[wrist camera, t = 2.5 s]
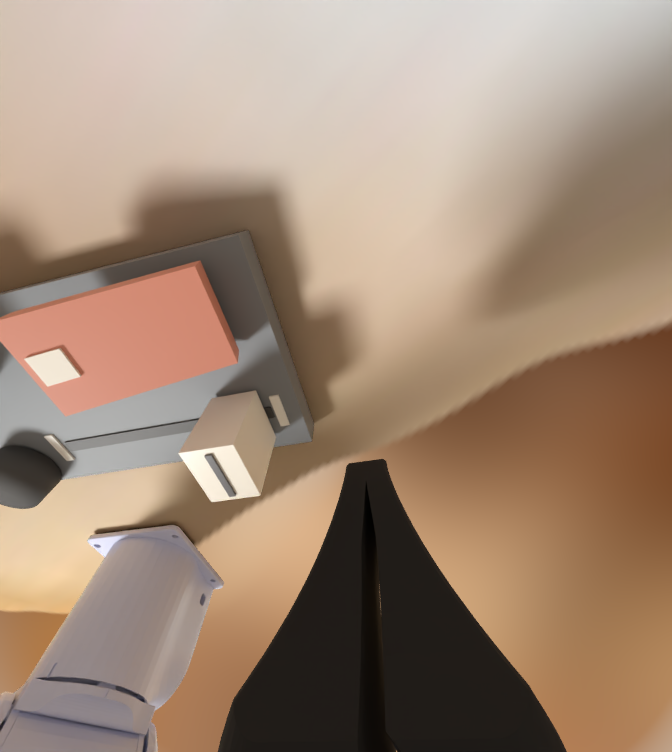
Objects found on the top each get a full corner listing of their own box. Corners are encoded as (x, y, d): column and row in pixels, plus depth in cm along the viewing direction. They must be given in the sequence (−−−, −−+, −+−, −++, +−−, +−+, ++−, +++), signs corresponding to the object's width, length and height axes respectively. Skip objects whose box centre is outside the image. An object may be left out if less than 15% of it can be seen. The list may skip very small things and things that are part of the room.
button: (74, 482, 20) (54, 504, 18) (26, 489, 20) (3, 511, 19) (33, 441, 18) (8, 462, 17) (-19, 450, 18) (-47, 471, 17)
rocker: (238, 349, 14) (238, 364, 13) (81, 397, 14) (64, 417, 12) (200, 259, 12) (194, 266, 11) (12, 312, 12) (-18, 325, 10)
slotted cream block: (276, 436, 17) (260, 497, 14) (235, 443, 18) (210, 504, 14) (255, 390, 16) (232, 446, 12) (211, 398, 16) (177, 455, 13)
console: (314, 423, 19) (310, 453, 17) (34, 468, 22) (2, 498, 20) (248, 230, 13) (231, 238, 11) (-120, 322, 16) (-187, 343, 14)
